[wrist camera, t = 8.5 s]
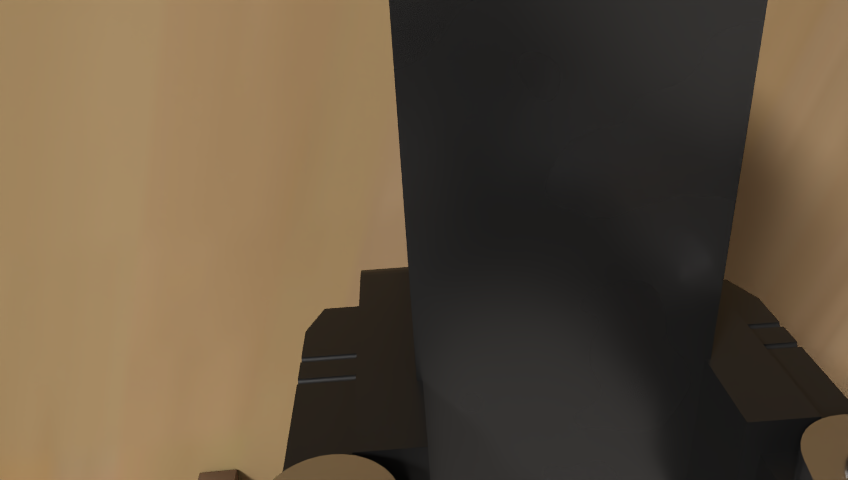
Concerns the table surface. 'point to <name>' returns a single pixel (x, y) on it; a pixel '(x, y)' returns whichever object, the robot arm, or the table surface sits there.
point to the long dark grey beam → (568, 224)
